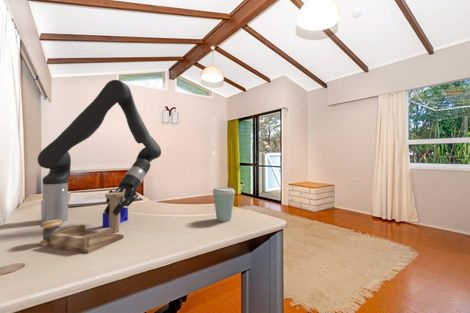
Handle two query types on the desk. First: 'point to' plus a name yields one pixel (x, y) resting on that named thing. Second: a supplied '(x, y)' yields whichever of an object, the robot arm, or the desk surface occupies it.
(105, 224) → the cable clip
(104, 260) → the desk surface
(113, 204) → the handle
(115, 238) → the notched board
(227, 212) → the disposable coffee cup
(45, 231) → the bobbin
